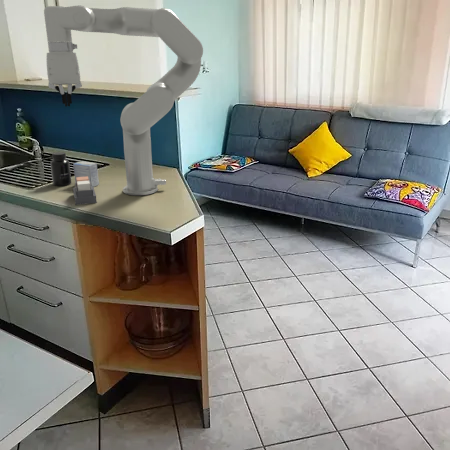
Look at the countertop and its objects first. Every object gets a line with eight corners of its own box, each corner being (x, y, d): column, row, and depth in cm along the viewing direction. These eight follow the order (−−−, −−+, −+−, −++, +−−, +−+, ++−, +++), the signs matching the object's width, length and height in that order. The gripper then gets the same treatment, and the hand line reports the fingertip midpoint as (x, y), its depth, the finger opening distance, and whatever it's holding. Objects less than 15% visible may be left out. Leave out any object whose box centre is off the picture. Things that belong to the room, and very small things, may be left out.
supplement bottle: (66, 186, 179) (62, 155, 175) (49, 185, 180) (45, 155, 176) (75, 182, 185) (71, 151, 181) (59, 181, 186) (55, 151, 182)
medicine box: (99, 185, 181) (97, 163, 178) (92, 188, 178) (89, 165, 175) (83, 182, 184) (80, 161, 181) (75, 185, 181) (72, 163, 178)
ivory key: (89, 188, 164) (89, 180, 163) (90, 191, 161) (89, 183, 160) (78, 189, 163) (77, 181, 162) (78, 193, 160) (77, 184, 158)
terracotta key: (88, 184, 169) (87, 176, 168) (89, 187, 166) (88, 179, 165) (77, 185, 168) (76, 177, 167) (77, 188, 164) (76, 180, 163)
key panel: (93, 192, 172) (92, 180, 170) (96, 202, 161) (95, 190, 160) (73, 194, 170) (72, 182, 168) (75, 204, 159) (73, 192, 158)
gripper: (83, 47, 159) (89, 103, 165) (36, 48, 154) (44, 105, 161) (85, 48, 152) (91, 106, 159) (35, 48, 147) (44, 108, 154)
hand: (67, 105), depth 160 cm, fingers closed
